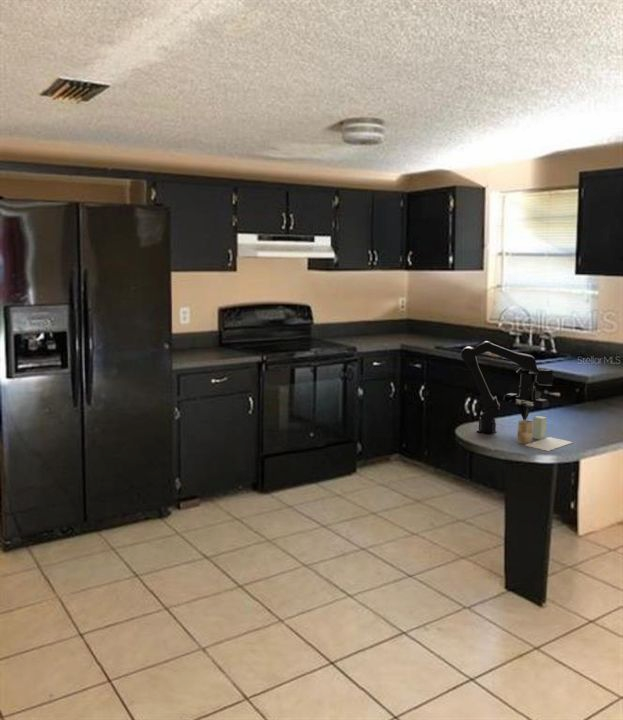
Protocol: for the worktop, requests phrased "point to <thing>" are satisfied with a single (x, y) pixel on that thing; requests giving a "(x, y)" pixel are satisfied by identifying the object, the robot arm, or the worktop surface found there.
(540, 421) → the sage block
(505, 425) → the worktop surface
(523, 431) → the oak block
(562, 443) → the mat
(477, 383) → the robot arm
